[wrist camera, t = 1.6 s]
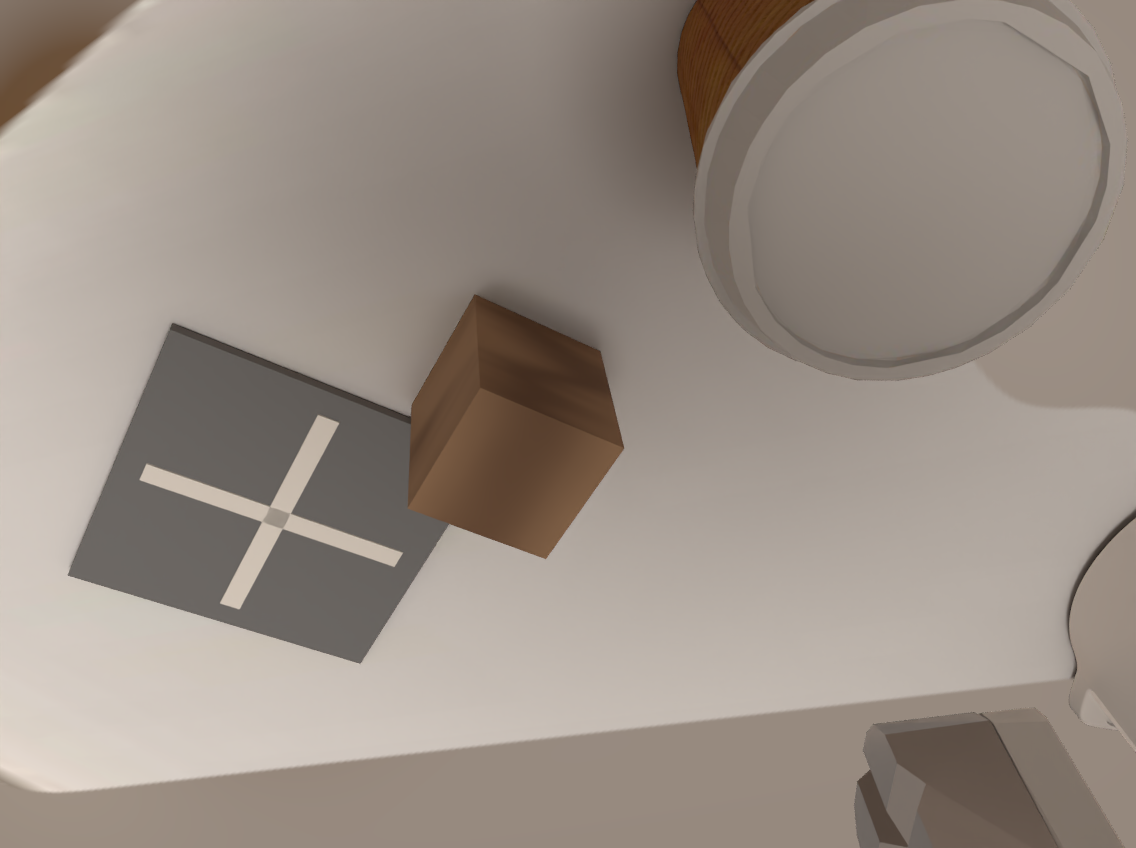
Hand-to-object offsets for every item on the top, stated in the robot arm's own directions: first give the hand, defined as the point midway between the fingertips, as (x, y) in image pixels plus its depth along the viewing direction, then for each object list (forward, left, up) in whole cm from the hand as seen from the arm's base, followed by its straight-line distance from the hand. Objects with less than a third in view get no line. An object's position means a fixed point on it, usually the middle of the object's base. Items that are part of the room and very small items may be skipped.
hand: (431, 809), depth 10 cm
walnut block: (-7, +9, -26) cm, 29 cm away
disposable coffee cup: (-9, -5, -26) cm, 28 cm away
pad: (-2, +18, -26) cm, 32 cm away
